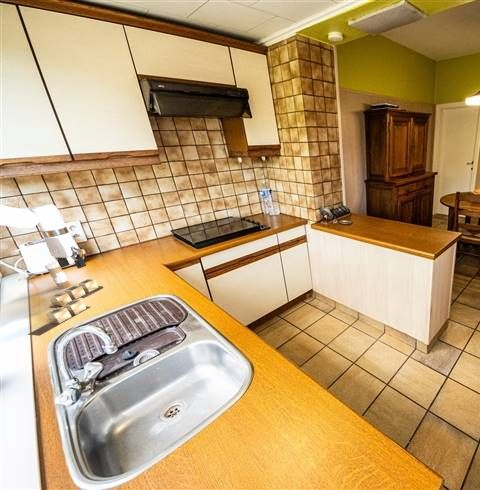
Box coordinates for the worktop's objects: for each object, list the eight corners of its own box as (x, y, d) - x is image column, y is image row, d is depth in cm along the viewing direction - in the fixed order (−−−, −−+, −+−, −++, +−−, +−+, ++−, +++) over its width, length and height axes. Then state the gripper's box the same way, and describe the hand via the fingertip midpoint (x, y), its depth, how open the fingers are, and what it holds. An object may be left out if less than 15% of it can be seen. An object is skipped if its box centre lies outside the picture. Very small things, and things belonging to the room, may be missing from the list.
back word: (60, 310, 117) (54, 299, 115) (49, 309, 118) (43, 299, 116) (103, 287, 133) (98, 278, 131) (94, 287, 134) (88, 278, 132)
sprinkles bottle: (56, 288, 135) (42, 265, 130) (68, 283, 139) (54, 261, 133) (61, 289, 133) (47, 266, 128) (73, 285, 137) (59, 262, 132)
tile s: (89, 291, 128) (84, 283, 126) (82, 291, 129) (77, 283, 127) (98, 287, 132) (94, 279, 130) (91, 286, 133) (87, 278, 131)
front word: (40, 337, 101) (32, 326, 99) (28, 336, 102) (20, 325, 100) (92, 308, 117) (86, 298, 115) (81, 307, 118) (75, 297, 116)
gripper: (29, 235, 116) (49, 269, 122) (61, 235, 113) (79, 271, 119) (51, 229, 122) (68, 262, 129) (81, 230, 119) (97, 263, 126)
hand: (73, 266), depth 124 cm, fingers open, 9 cm apart
